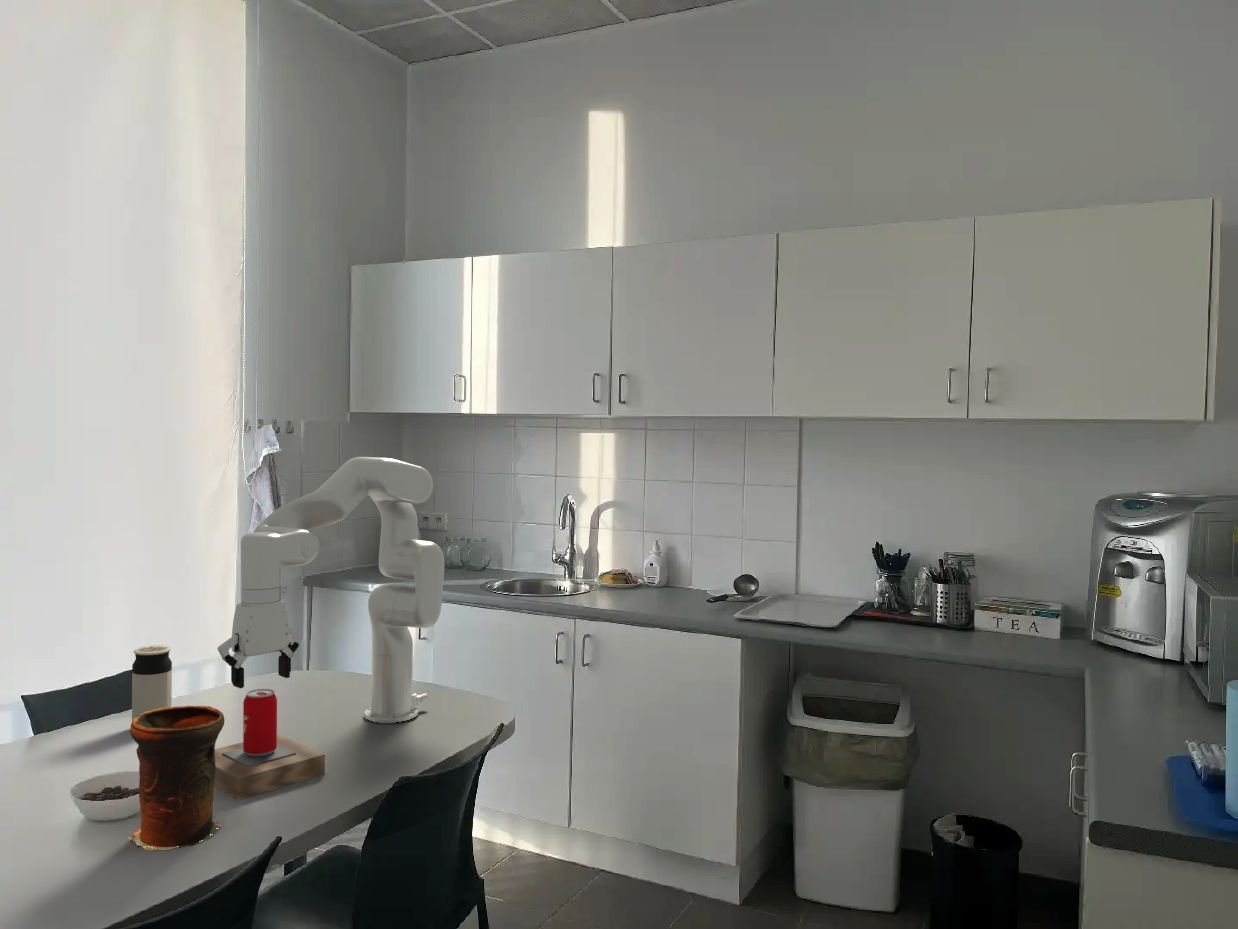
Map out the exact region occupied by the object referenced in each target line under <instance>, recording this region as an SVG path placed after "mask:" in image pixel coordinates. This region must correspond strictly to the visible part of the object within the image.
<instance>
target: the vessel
mask: <svg viewBox="0 0 1238 929" xmlns="http://www.w3.org/2000/svg"><path fill="white" fill-rule="evenodd" d="M224 725H225V716H224V713H223V712H222V711H220V709H217V708H215V707H212V706H209V705H208V706H207V705H185V706H183V705H182V706H178V705H177V706H171V707H166V708H159V709H154V710H151V711H146V712H144V713H142V714H141V715H139V716H138V717H136V718H134V719H133V721H132V720H131V723H130V728H129V733H130V736H131V738H132V739H133V741H134V742H135V743H136V744H137V746H138V747H137V748H136V755H137V759H138V761H139V767H138V775H139V779H138V781H139V784H138V797H139V800H138V802H139V806H140V807H139V808H140V828H138V829H136V830H135V831H134V832H133V833H132V834H134V835H133V836H132V837H129V836H128V837H127V838H128V840H129V841H131V840H140V845H138V846H146V849H145V848H144V849H143V850H145V851H151V852H153V851H156V850H157V851H167V850H168V851H169V850H174V849H179V848H181V847H186V846H194V845H195V846H196V845H197V844H201V843H204V842H203V841H202V842H200V843H199V841H201V840H204V841H208V840H209V839H213V838H214V836H215V834H217V833H218V832H219V831H221V830H222V827H221V824H219V821H218V820H215V818H214V816H213V815H214V814H213V811H214V808H213V807H214V805H213V804H214V796H215V788H216V787H215V769H216V765H215V749H216V742H217V740H218V737H219V734H220V733H221V731H222V729H223V728H224ZM217 823H218V824H217ZM216 828H219V829H216ZM210 834H213V835H211V836H210ZM212 836H213V837H212ZM141 842H142V845H141ZM196 843H197V844H196ZM147 846H150V848H149V847H147ZM151 846H153V849H152V848H151ZM177 846H179V848H178V847H177ZM135 847H137V845H135ZM154 847H155V848H156V849H155V848H154Z"/></svg>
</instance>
